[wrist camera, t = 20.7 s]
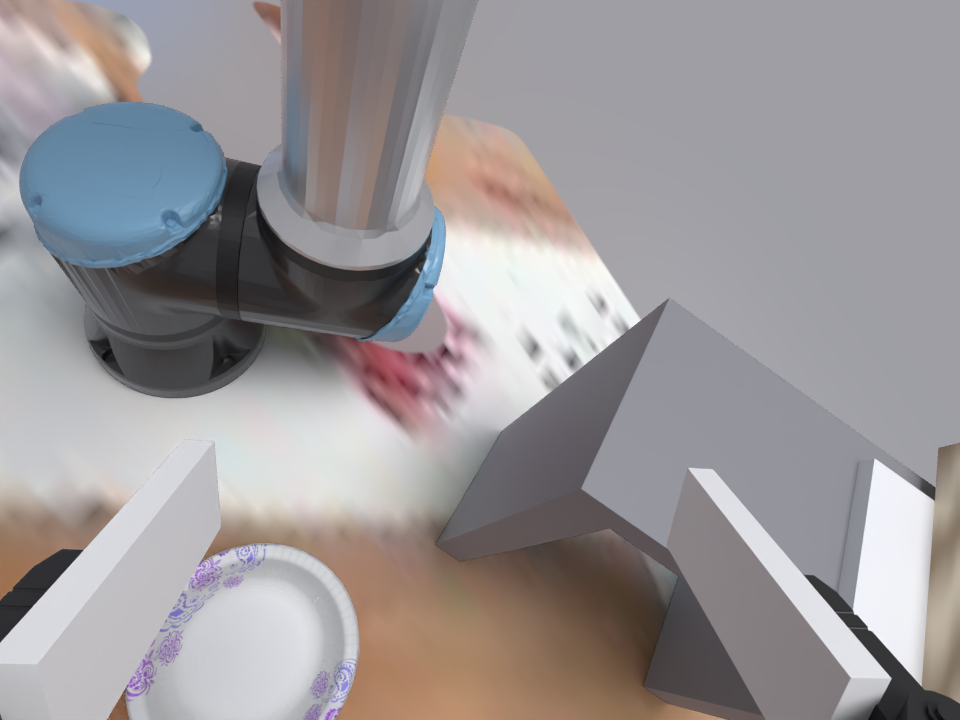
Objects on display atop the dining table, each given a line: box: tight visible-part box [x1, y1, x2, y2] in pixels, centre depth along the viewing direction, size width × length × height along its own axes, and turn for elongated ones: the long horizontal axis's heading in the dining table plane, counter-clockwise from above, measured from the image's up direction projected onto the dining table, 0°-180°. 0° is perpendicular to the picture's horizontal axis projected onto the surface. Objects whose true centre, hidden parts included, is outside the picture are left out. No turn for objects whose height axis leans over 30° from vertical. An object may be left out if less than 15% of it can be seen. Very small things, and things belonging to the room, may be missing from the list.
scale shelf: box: [435, 298, 936, 720], centre depth 43 cm, size 14×29×31 cm, turn 60°
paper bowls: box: [126, 543, 359, 720], centre depth 41 cm, size 15×15×8 cm
